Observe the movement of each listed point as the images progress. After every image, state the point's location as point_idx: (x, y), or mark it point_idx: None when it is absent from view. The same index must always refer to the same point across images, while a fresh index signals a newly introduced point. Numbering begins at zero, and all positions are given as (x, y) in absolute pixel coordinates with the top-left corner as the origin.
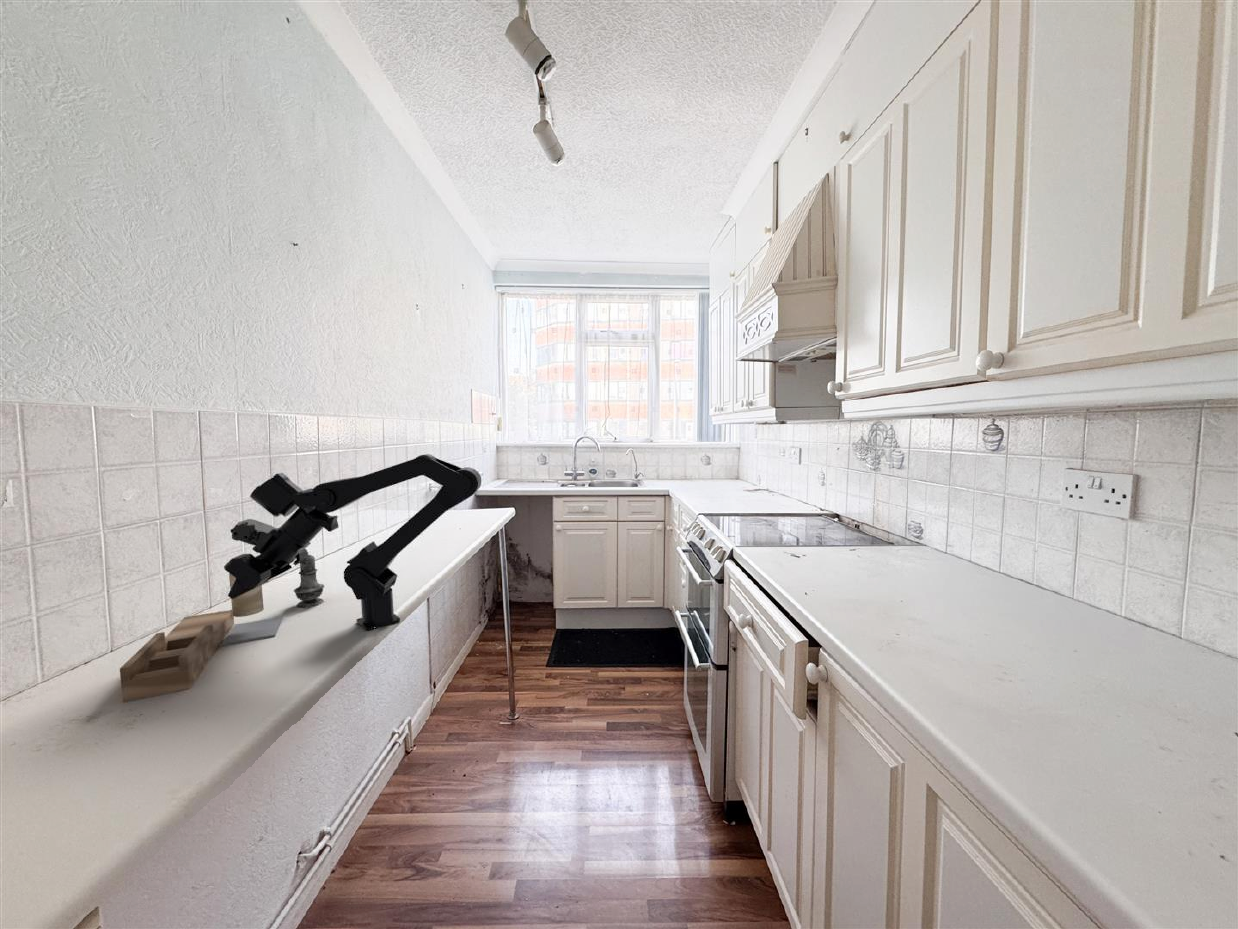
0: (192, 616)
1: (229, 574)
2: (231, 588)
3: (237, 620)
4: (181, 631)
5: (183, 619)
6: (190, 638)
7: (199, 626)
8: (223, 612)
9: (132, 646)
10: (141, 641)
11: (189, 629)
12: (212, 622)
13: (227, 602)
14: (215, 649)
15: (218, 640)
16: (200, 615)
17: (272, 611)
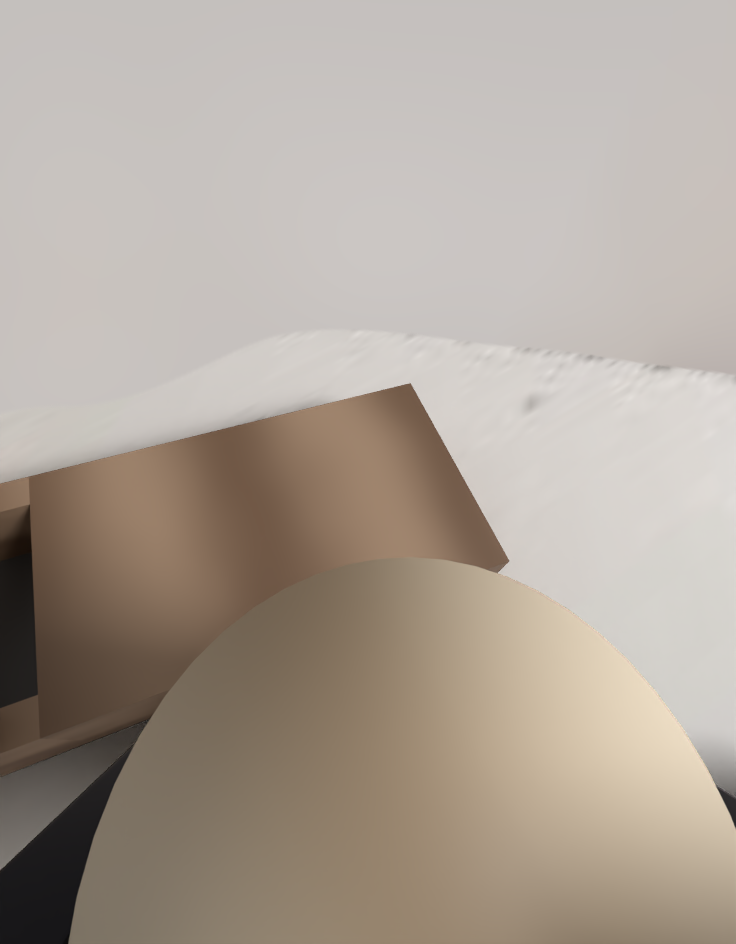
0: (413, 410)
1: (236, 624)
2: (91, 787)
3: (535, 571)
4: (179, 485)
5: (377, 394)
6: (34, 603)
7: (239, 535)
8: (463, 531)
9: (283, 337)
10: (327, 337)
11: (202, 508)
12: (293, 571)
13: (731, 391)
14: (56, 753)
15: (135, 716)
16: (426, 437)
17: (684, 700)
